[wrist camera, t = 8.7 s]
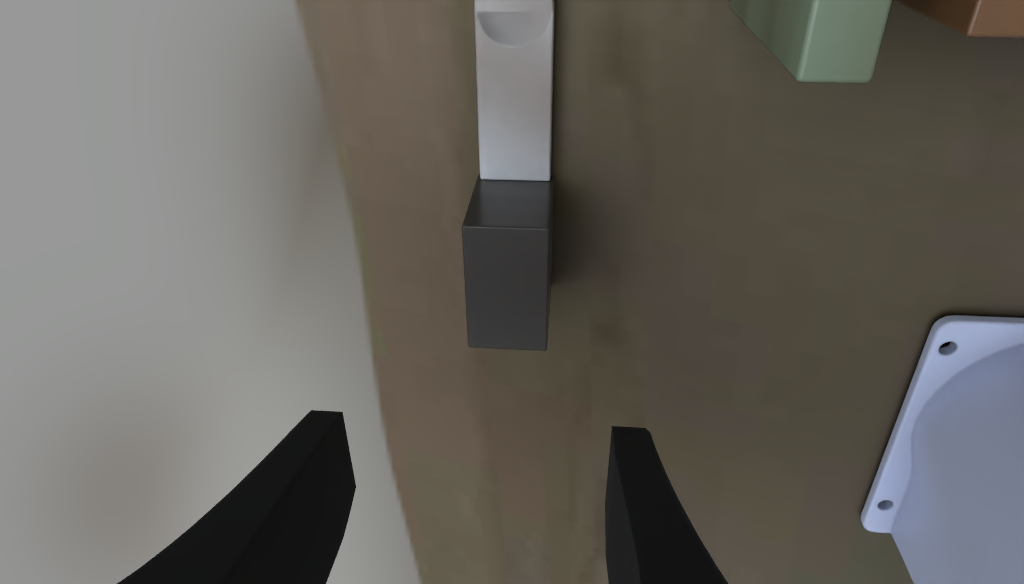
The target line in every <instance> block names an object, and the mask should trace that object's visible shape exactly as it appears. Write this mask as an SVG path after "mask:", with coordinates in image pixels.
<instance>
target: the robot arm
mask: <svg viewBox="0 0 1024 584" xmlns="http://www.w3.org/2000/svg"><path fill="white" fill-rule="evenodd" d="M945 342H951V343H950V344H949V345H948V346H946V347H942V348H939V347H940V346H941V345H942V344H944V343H945ZM355 488H356V484H355V479H354V473H353V468H352V462H351V457H350V452H349V446H348V440H347V436H346V430H345V423H344V418H343V413H342V412H333V411H313V410H312V411H310V412H309V413H308V414H307V415H306V416H305V417H304V418H303V419H302V420H301V421H300V422H299V423H298V424H297V425H296V426H295V427H294V428H293V429H292V431H290V432H289V433H288V435H287V436H286V437H285V438H284V439H283V440H282V441H281V442H280V443H279V444H278V445H277V446H276V447H275V448H274V449H273V450H272V451H271V452H270V453H269V454H268V455H267V456H266V457H265V458H264V459H263V460H262V461H261V462H260V463H259V464H258V465H257V466H256V467H255V468H254V469H253V470H252V471H251V472H250V473H249V474H248V475H247V476H246V477H245V478H244V479H243V480H242V481H241V482H240V483H239V484H238V485H237V486H236V487H235V488H234V489H233V490H232V491H231V492H230V493H229V494H227V495H226V496H225V497H224V498H223V499H222V500H221V501H220V502H219V503H217V504H216V505H215V506H214V507H213V508H212V509H211V510H210V511H209V512H208V513H206V514H205V515H204V516H203V517H202V518H201V519H200V520H198V521H197V522H196V523H195V524H194V525H193V526H192V527H191V528H189V529H188V530H187V531H186V532H185V533H183V534H182V535H181V536H180V537H179V538H178V539H176V540H175V541H174V542H173V543H171V544H170V545H169V546H168V547H166V548H165V549H164V550H163V551H161V552H160V553H159V554H157V555H156V556H155V557H154V558H152V559H151V560H150V561H148V562H147V563H146V564H145V565H143V566H142V567H141V568H139V569H138V570H136V571H135V572H134V573H132V574H131V575H129V576H128V577H126V578H125V579H123V580H122V581H121V582H119V583H118V584H326V582H327V579H328V577H329V574H330V571H331V569H332V566H333V564H334V561H335V558H336V556H337V553H338V550H339V547H340V545H341V542H342V540H343V537H344V533H345V529H346V525H347V522H348V518H349V514H350V510H351V506H352V502H353V497H354V493H355ZM884 500H885V501H884ZM881 501H882V502H881ZM861 521H862V524H863V526H864V528H865V529H867V530H868V531H872V532H881V533H891V534H892V536H893V538H894V541H895V543H896V545H897V547H898V549H899V552H900V554H901V556H902V558H903V561H904V563H905V565H906V567H907V570H908V572H909V574H910V576H911V578H912V581H913V583H914V584H1024V318H1013V317H987V316H962V315H951V316H945V317H943V318H940V319H939V320H938V321H936V322H935V323H934V325H933V326H932V328H931V330H930V333H929V335H928V338H927V341H926V343H925V346H924V349H923V351H922V354H921V357H920V359H919V362H918V365H917V367H916V370H915V373H914V375H913V378H912V381H911V383H910V386H909V389H908V391H907V394H906V397H905V399H904V402H903V405H902V407H901V410H900V413H899V415H898V418H897V421H896V423H895V426H894V429H893V431H892V434H891V436H890V439H889V442H888V444H887V447H886V450H885V452H884V455H883V458H882V460H881V463H880V466H879V468H878V471H877V474H876V476H875V479H874V482H873V484H872V487H871V490H870V492H869V495H868V498H867V500H866V503H865V506H864V508H863V511H862V514H861ZM605 534H606V561H607V571H608V580H609V584H728V583H727V581H726V580H725V578H724V577H723V575H722V573H721V572H720V570H719V569H718V567H717V566H716V564H715V563H714V561H713V559H712V558H711V556H710V554H709V553H708V551H707V549H706V548H705V546H704V545H703V543H702V541H701V540H700V538H699V536H698V534H697V533H696V531H695V529H694V527H693V526H692V524H691V522H690V520H689V518H688V516H687V514H686V512H685V511H684V509H683V507H682V505H681V503H680V501H679V499H678V497H677V495H676V493H675V491H674V489H673V487H672V485H671V483H670V481H669V479H668V476H667V474H666V472H665V470H664V468H663V465H662V463H661V461H660V458H659V456H658V453H657V451H656V448H655V445H654V442H653V439H652V436H651V433H650V432H649V431H648V430H647V429H646V428H636V427H617V426H612V433H611V444H610V455H609V466H608V478H607V489H606V500H605Z"/></svg>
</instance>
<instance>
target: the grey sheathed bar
mask: <svg viewBox="0 0 1024 584" xmlns="http://www.w3.org/2000/svg"><path fill="white" fill-rule="evenodd" d="M554 7H555V5H554V0H475V2H474V16H475V44H476V73H477V102H478V131H479V159H480V174H479V176H478V179H477V182H476V185H475V188H474V191H473V194H472V197H471V200H470V203H469V207H468V210H467V213H466V216H465V219H464V222H463V225H462V237H463V257H464V276H465V296H466V315H467V334H468V346H469V347H473V348H495V349H518V350H540V351H546V350H547V340H548V327H549V313H550V300H551V285H552V245H553V205H554V176H551V142H552V97H553V53H554Z"/></svg>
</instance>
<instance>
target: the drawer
mask: <svg viewBox="0 0 1024 584" xmlns="http://www.w3.org/2000/svg"><path fill="white" fill-rule="evenodd" d="M894 1H896V2H898V3H900V4H902V5H904V6H906V7H908V8H910V9H912V10H914V11H916V12H918V13H920V14H922V15H924V16H926V17H928V18H931V19H933V20H935V21H937V22H939V23H941V24H943V25H945V26H947V27H949V28H951V29H953V30H955V31H957V32H959V33H961V34H963V35H965V36H968V37H1023V38H1024V0H894ZM891 3H892V0H731V3H730V8H731V10H732V11H733V12H734V13H735V14H736V15H737V16H738V17H739V18H740V20H741V21H742V22H743V23H744V24H745V25H746V26H747V27H748V28H749V29H750V30H751V31H752V33H753V34H754V35H755V36H756V37H757V38H758V39H759V40H760V41H761V42H762V43H763V44H764V46H765V47H766V48H767V49H768V50H769V51H770V52H771V53H772V54H773V55H774V56H775V57H776V59H777V60H778V61H779V62H780V63H781V64H782V65H783V66H784V67H785V68H786V69H787V70H788V72H789V73H790V74H791V75H792V76H793V77H794V78H795V79H796V80H797V81H799V82H820V83H867V82H870V80H871V79H872V75H873V72H874V68H875V64H876V60H877V56H878V52H879V49H880V45H881V41H882V37H883V33H884V30H885V26H886V22H887V18H888V14H889V10H890V7H891Z"/></svg>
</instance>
